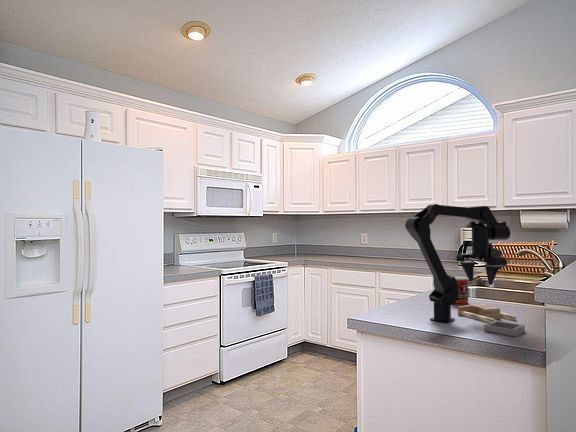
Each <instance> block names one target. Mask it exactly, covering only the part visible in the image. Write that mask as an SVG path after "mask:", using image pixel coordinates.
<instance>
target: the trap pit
mask: <svg viewBox="0 0 576 432" xmlns="http://www.w3.org/2000/svg"><path fill="white" fill-rule="evenodd" d="M483 327H484V328H483V329H484V333H485V332H486V333H491V334H497V335H502V336H506V337H507V336H508V337H513V338H515V337H517V336H519V335H521V334H522V333H525V331H526V329H525V327H526V326H525V324H520V323H515V322H509V321H504V320H503V321H501V320H498V319H495V321H493V322H490V323H488V322H487V323H485V324H484V325H483Z"/></svg>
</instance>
